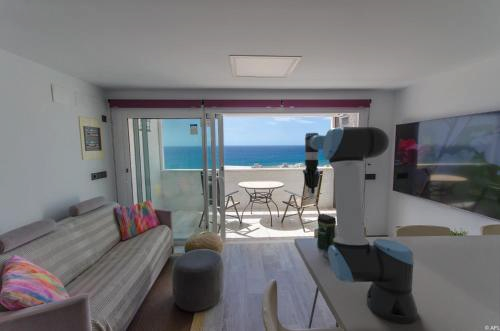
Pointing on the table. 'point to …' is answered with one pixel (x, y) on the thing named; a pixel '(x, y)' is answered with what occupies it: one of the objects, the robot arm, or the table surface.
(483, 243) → the table surface
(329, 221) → the coffee jar
